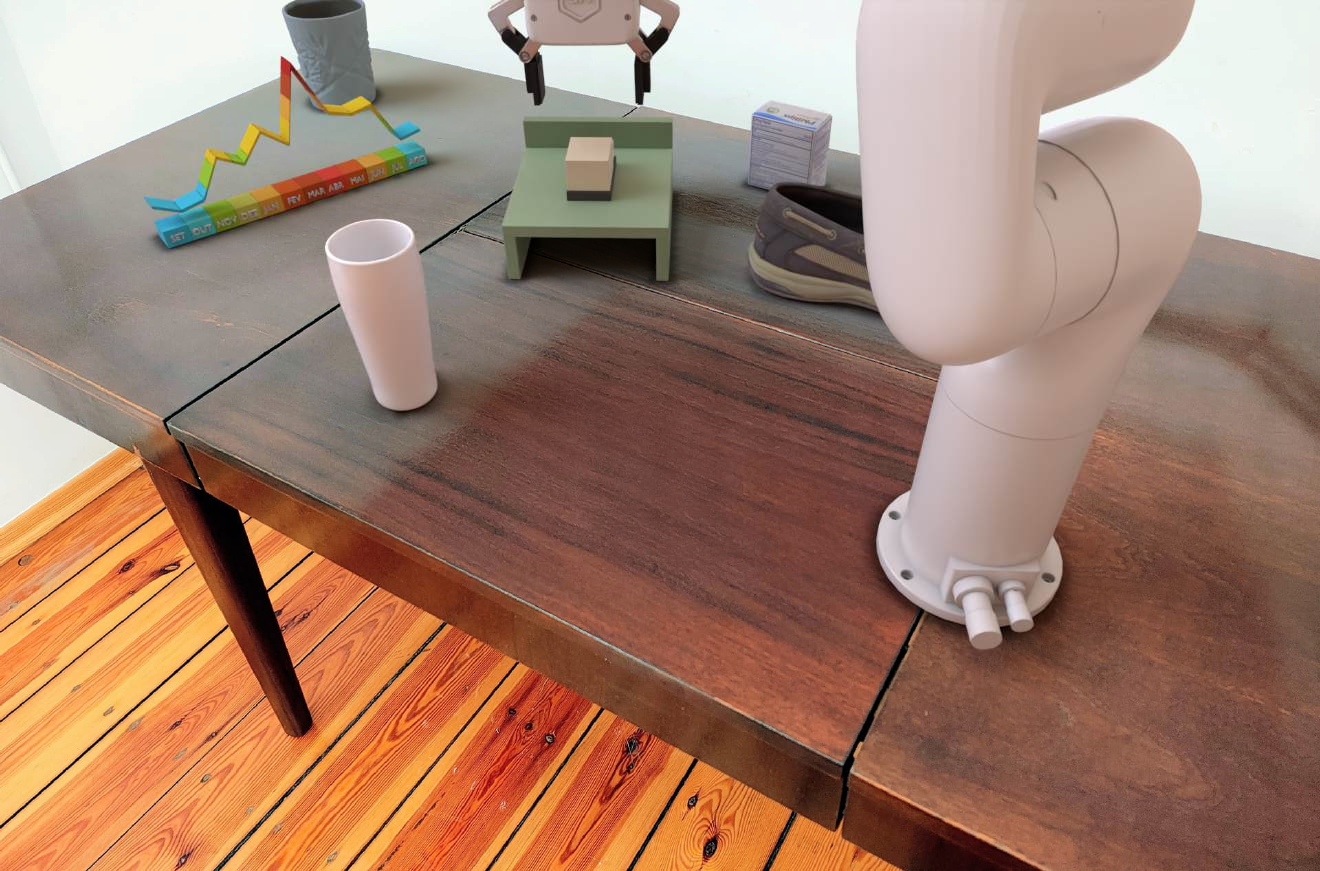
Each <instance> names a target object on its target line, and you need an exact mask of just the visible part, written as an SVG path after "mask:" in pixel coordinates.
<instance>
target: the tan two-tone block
mask: <svg viewBox="0 0 1320 871" xmlns="http://www.w3.org/2000/svg"><path fill="white" fill-rule="evenodd" d="M565 165H566V178H567V192H566V194H567V201H611V198H612V192H613V185H614V178H615V171H616V156H614V141H613V140H612V137H571V138H570V142H569V147H568V151H567V155H566V159H565Z"/></svg>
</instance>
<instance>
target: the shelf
mask: <svg viewBox="0 0 1320 871" xmlns="http://www.w3.org/2000/svg"><path fill="white" fill-rule="evenodd" d="M522 125H523V134H524V143H525V148H524V152H523V156H522V159H521V162H520V165H519V168H518V172H517V175H516V178H515V182H514V185H513V188H512V192H511V194H510V198H509V201H508V204H507V207H506V210H505V213H504V216H503V221H502V224H501V230H502V238H503V245H504V253H505V261H506V268H507V275H508V279H509V280H521V279H522V274H523V270H524V267H525V263H526V259H527V256H528V252H529V248H530V243H531V240H532V238H578V239H579V238H582V239H583V238H584V239H585V238H588V239H655V253H656V254H655V258H656V259H655V260H656V261H655V262H656V264H655V269H656V271H655V272H656V281H657V282H659V281H660V282H669V279H670V258H671V240H672V239H671V237H672V235H671V234H672V214H673V190H674V188H673V184H674V183H673V180H674V178H673V174H674V173H673V171H674V170H673V165H674V164H673V163H674V162H673V161H674V160H673V159H674V158H673V157H674V156H673V155H674V152H673V151H674V150H673V149H674V147H673V146H674V145H673V144H674V142H673V141H674V137H673V136H674V134H673V133H674V118H673V117H667V116H666V117H663V116H662V117H661V116H660V117H658V116H656V117H655V116H654V117H653V116H651V117H650V116H644V117H643V116H642V117H641V116H638V117H637V116H524V117H523V119H522ZM571 137H612V140H613V141H614V156H616V171H615V178H614V185H613V192H612V198H611V201H567V194H566V192H567V178H566V165H565V159H566V155H567V151H568V147H569V142H570V138H571Z"/></svg>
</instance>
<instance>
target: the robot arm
mask: <svg viewBox="0 0 1320 871" xmlns="http://www.w3.org/2000/svg"><path fill="white" fill-rule="evenodd" d="M1195 4H1196V0H862V1H861V4H860V8H859V14H858V20H857V27H856V34H855V86H856V105H857V108H856V109H857V125H858V128H857V129H858V146H859V164H860V165H859V166H860V167H859V168H860V185H861V187H860V188H861V196H862V207H863V226H864V242H865V254H866V262H867V269H868V275H869V280H870V285H871V289H872V293H873V296H874V299H875V302H876V304H877V307H878V309H879V312H878V313H879V315H880V317H881V318H882V321H883V322H884V324H885V325H886V327H887V328H888V330H889V332H890V334H892V336H893V337H894V338H895V340H896V341H897V342H898V343H899V344H900V345H901V346H902V347H903V348H905V349H906V350H907V351H908V352H910V353H911V354H912V355H913V356H915V357H916V358H919V359H921V360H924V361H925V362H929V363H931V364H935V365H937V366H941V369H940V373H939V376H938V380H937V383H936V388H935V392H934V396H933V400H932V403H931V408H930V412H929V416H928V420H927V423H926V427H925V428H926V429H925V432H924V436H923V440H922V445H921V448H920V452H919V456H918V460H917V463H916V464H917V465H916V468H915V472H914V476H913V481H912V483H911V484H912V485H911V488H910V490H908V491H906V492H904V493H902V494H901V495H899V496H898V497H896V498H895V499H894V500H893V501H892V502H891V503H890V504H889V505H888V506H887V508H885V510H884V512H883V513H882V516H881V518H880V521H879V524H878V527H877V533H876V537H875V542H876V553H877V557H878V561H879V563H880V566H881V567H882V570H883V571H884V573H885V575H886V577H887V579H888V580H889V581H890V582H891V583H892V585H893V586H894V587H895V588H896V589H897V591H898V592H899V593H900V594H902V595H903V596H904V597H905V598H907V599H908V600H909V601H910V602H911V603H913V604H915V605H916V606H918V607H919V608H921V609H922V610H923V611H925V612H927V613H928V614H929V613H930V614H931V615H934V616H937V617H938V618H941V619H943V620H946V621H950V622H953V623H957V624H960V625H963V626H965V627H966V630H967V634H968V638H969V642H970V644H971V646H972V647H973V648H974V649H977V650H983V651H986V650H991V649H994V648H996V647H998V646H1000V644H1001V643H1002V642H1003V634H1002V632H1001V628H1000V627H1006V626H1010V629H1011V630H1012V631H1014V632H1017V633H1024V632H1028V631H1030V630H1032V629H1033V627H1034V620H1033V618H1034V617H1035V616H1036V615H1038V614H1039V613H1041V612H1042V611H1043V610H1045V609H1046V607H1047V606H1048V605H1049V604H1050V603H1051V601H1053V599H1054V596H1055V595H1056V592H1058V589H1059V586H1060V584H1061V580H1062V577H1063V557H1062V553H1061V550H1060V547H1059V545H1058V543H1057V540H1056V538H1055V537H1054V533H1055V532H1056V528H1057V526H1058V524H1059V521H1060V520H1061V517H1062V514H1063V512H1064V510H1065V507H1066V505H1067V502H1068V500H1069V498H1070V496H1071V492H1072V490H1073V489H1074V486H1075V483H1076V480H1077V479H1078V475H1079V473H1080V472H1081V469H1082V467H1083V464H1084V462H1085V459H1086V456H1087V455H1088V452H1089V449H1090V447H1091V445H1092V443H1093V440H1094V438H1095V435H1096V433H1097V430H1098V428H1099V426H1100V423H1101V421H1102V419H1103V418H1104V416H1105V413H1106V411H1107V409H1108V406H1109V404H1110V402H1111V399H1112V397H1113V395H1114V393H1115V390H1116V387H1117V386H1118V383H1119V380H1120V379H1121V376H1122V374H1123V372H1124V369H1125V368H1126V366H1127V364H1128V361H1129V359H1130V358H1131V355H1132V354H1133V352H1134V350H1135V348H1136V346H1137V344H1138V342H1139V340H1140V339H1141V337H1142V335H1143V334H1144V333H1145V331H1146V328H1148V326H1149V324H1150V322H1151V321H1152V319H1153V317H1154V316H1155V314H1156V313H1157V312H1158V310H1159V308H1160V306H1161V305H1162V303H1163V302H1164V300H1165V299H1166V297H1167V296H1168V294H1169V293H1170V291H1171V289H1172V288H1173V286H1174V284H1175V283H1176V281H1177V279H1178V278H1179V275H1180V274H1181V272H1182V270H1183V268H1184V266H1185V265H1186V262H1187V261H1188V259H1189V256H1190V253H1191V251H1192V249H1193V246H1194V244H1195V242H1196V238H1197V235H1198V231H1199V227H1200V222H1201V217H1202V208H1203V206H1202V202H1203V200H1202V199H1203V196H1202V187H1201V180H1200V177H1199V172H1198V169H1197V167H1196V165H1195V163H1194V161H1193V159H1192V157H1191V155H1190V153H1189V152H1188V151H1187V149H1186V147H1184V145H1183V144H1182V143H1181V142H1180V141H1179V139H1177V138H1176V137H1175V136H1174V135H1173V134H1171V133H1170V132H1169V131H1167V130H1166V129H1165V128H1163V127H1162V126H1159V125H1157V124H1155V123H1153V122H1151V121H1148V120H1145V119H1142V118H1139V117H1134V116H1129V115H1122V114H1121V115H1119V114H1107V115H1106V114H1105V115H1097V116H1096V115H1095V116H1088V117H1083V118H1078V119H1074V120H1069V121H1066V122H1062V123H1059V124H1055V125H1052V126H1051V127H1047V128H1045V129H1042V130H1040V124H1041V116H1043V115H1046V114H1050V113H1052V112H1055V111H1057V110H1060V109H1065V108H1066V107H1069V106H1073V105H1075V104H1078V103H1081V102H1085V101H1086V100H1090V99H1093V98H1096V97H1098V96H1101V95H1104V94H1107V93H1109V92H1112V91H1114V90H1117V89H1120V88H1122V87H1124V86H1127V85H1129V84H1131V83H1132V82H1135V81H1136V80H1138V79H1140V78H1142V77H1144V76H1145V75H1147V74H1149V73H1151V72H1152V71H1153V70H1155V69H1156V68H1158V66H1160V65H1161V64H1162V63H1163V62H1165V61H1166V60H1167V59H1168V57H1170V55H1171V54H1172V53H1173V51H1175V49H1176V48H1177V47H1178V45H1179V44H1180V42H1181V41H1182V39H1183V37H1184V36H1185V33H1186V31H1187V29H1188V26H1189V23H1190V20H1191V18H1192V15H1193V11H1194V7H1195ZM641 6H642V7H643V8H645V9H647V10H649V11H651V12H653V13H655V14H657V15H658V16H660V18H661V19H660V22H658V25H657V26H656V27H655V28H654V29H653V31H651V33H650V34H649V35H647V34H646V33H645V31H644V30H643V29H642V28H641V27H640V24H641V23H640V22H641ZM523 8H524V19H525V29H526V33H527V37H525V35H523V33H521V31H519V29H517V28H516V27H515V26H514V25H513V24H512V21H511V20H510V18H509V16H511V15H512V14H514V13H516V12H518V11H519V10H521V9H523ZM680 15H681V8H680V5H678V4H677V3H675V2H674V1H672V0H500V1H497V2H496V3H495V4H493V5H492V6H491V7H490V8H489V10H488V11H487V17H488V20H489V21H490V22H491V25H492V26H493V27H494V29H495V30H496V32H497V33H498V34H499V36H500V39H501V41H502V43H503V44H504V45H506V46H507V47H508V48H509V49H510V50H511V51H512V52H513V53H514V54H516V55H517V56H518V59H519V61H520V62H521V63H523V71H524V78H525V87H526V93H527V94H532V97H533V105H534V107H536V106H541V105H543V102H544V100H545V96H546V83H545V82H546V81H545V74H544V73H545V72H544V71H545V70H544V63H543V62H544V61H543V55H542V54H541V52H540V51H539V50H540V48H541V47H542V46H549V47H583V46H584V47H589V46H590V47H591V46H592V47H593V46H594V47H595V46H596V47H599V46H602V47H603V46H622V45H627V46H628V48H630V49H631V50H632V52H633V53H634V55H635V56H634V61H633V75H634V76H633V77H634V102H635V104H637V106H644V100H645V99H644V98H645V94H650V93H651V91H652V74H651V70H652V69H651V61H652V59H653V57H654V56H655V54H656V53H658V51H660V49H661V48H662V47H663V46H664V45H665V44H666V43H667V42H668V40H669V38H670V35H671V34H672V32H673V30H674V28H675V26H676V24H677V22H678V19H679V18H680Z"/></svg>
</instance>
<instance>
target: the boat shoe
mask: <svg viewBox="0 0 1320 871" xmlns="http://www.w3.org/2000/svg"><path fill="white" fill-rule="evenodd" d="M760 209H761V210H760V213H759V215H758V216H757V217H756V218H755V220H754V224H753V227H754V231H755V234H754V239H753V240H752V242H751V243H750V244H749V247H748V248H747V253H746V262H747V268H748V271H749V273H750V276H751V278H752V279H753V281H754V282H755V283H756V284H757V285H758V287H760V288H761V289H763V290H765V291H766V292H769V293H770V294H774V295H776V296H779V297H782V298H787V299H792V300H797V301H804V302H813V303H841V304H849V305H855V306H858V307H862V308H866V309H868V310H872V311H874V312H877V313H880V312H879V309H878V307H877V304H876V302H875V299H874V296H873V293H872V289H871V285H870V280H869V275H868V269H867V262H866V254H865V242H864V226H863V207H862V195H858V194H854V193H850V192H848V191H847V192H846V191H844V190H838V189H834V188H831V187H829V186H827V185H825V186H823V185H822V186H818V185H812V184H806V183H799V182H779V183H776V184H774V185H773V186H772V187H771V188H770V190H768V192H767V194H766V195H765V199H764V201H763V203H762V204H761V206H760Z"/></svg>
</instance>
